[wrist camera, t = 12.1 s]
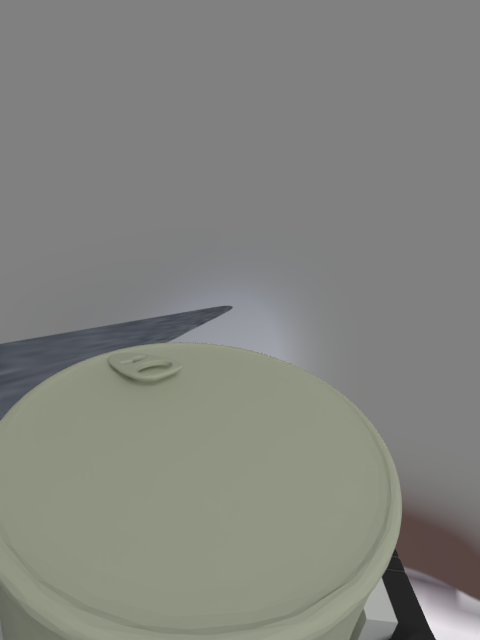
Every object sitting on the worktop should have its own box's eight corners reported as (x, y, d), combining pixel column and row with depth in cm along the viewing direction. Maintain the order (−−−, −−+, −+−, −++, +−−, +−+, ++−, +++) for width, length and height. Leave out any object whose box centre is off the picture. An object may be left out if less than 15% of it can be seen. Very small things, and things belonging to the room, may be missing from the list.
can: (184, 515, 18) (206, 313, 14) (340, 664, 13) (445, 412, 9) (-21, 692, 11) (-94, 383, 7) (146, 1187, 6) (232, 1086, 2)
